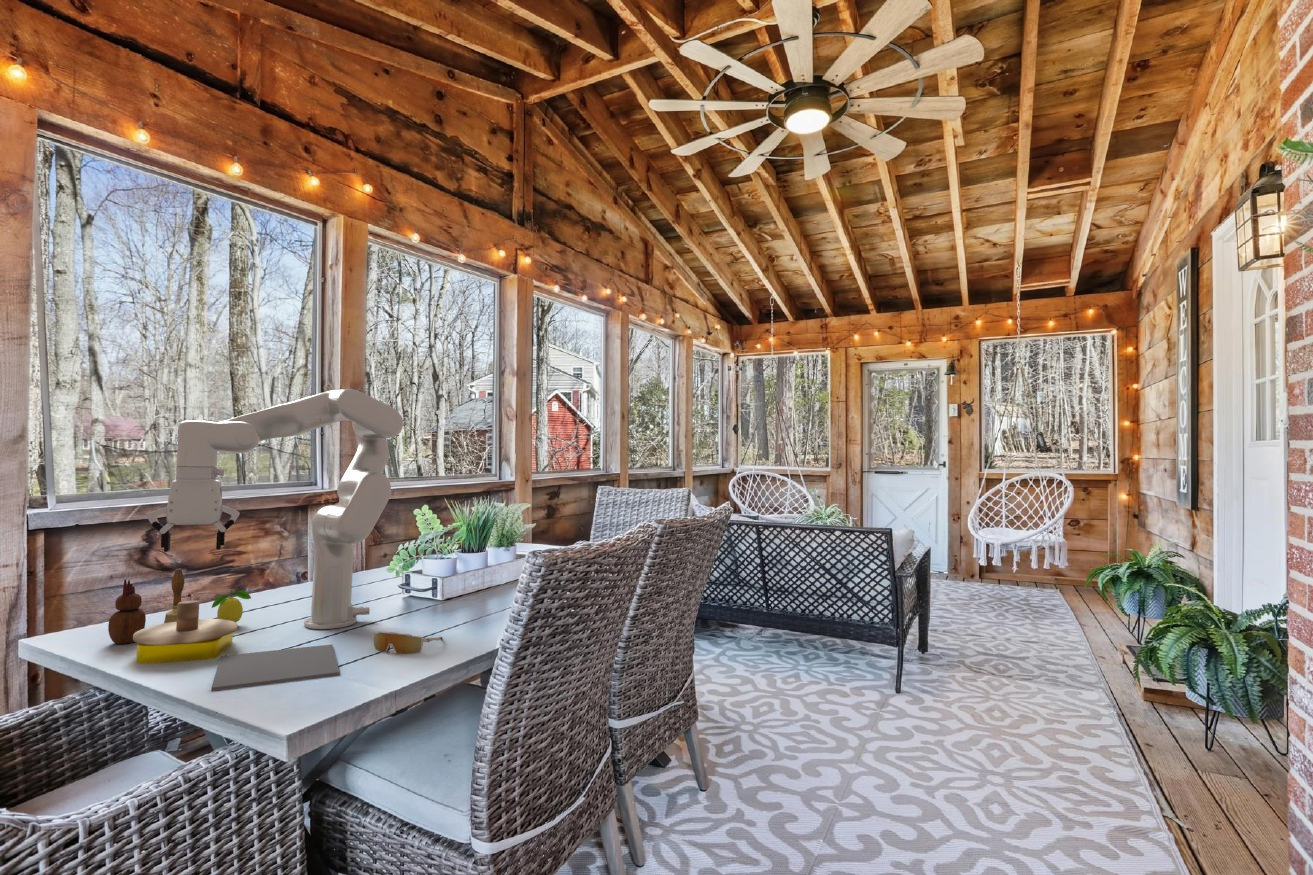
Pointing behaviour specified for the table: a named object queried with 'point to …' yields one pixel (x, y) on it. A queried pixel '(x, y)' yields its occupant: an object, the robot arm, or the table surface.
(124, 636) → the wooden figurine
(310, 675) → the mat
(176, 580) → the hand bell
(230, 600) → the lemon
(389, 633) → the sunglasses
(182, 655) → the element tile
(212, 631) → the lid
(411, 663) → the table surface
